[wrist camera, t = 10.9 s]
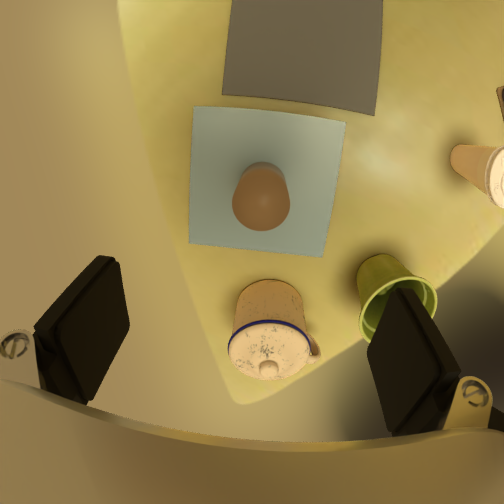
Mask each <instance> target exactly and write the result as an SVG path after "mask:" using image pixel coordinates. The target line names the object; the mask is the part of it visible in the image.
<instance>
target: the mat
mask: <svg viewBox="0 0 504 504" xmlns="http://www.w3.org/2000/svg"><path fill="white" fill-rule="evenodd" d="M382 16H383V0H232V7H231V15H230V23H229V32H228V40H227V50H226V59H225V69H224V79H223V90H222V94H223V95H239V96H252V97H264V98H273V99H282V100H290V101H298V102H305V103H311V104H317V105H323V106H329V107H334V108H340V109H345V110H350V111H354V112H359V113H364V114H368V115H372V116H374V114H375V107H376V98H377V89H378V79H379V68H380V56H381V40H382Z"/></svg>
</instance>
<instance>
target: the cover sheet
mask: <svg viewBox="0 0 504 504" xmlns="http://www.w3.org/2000/svg"><path fill="white" fill-rule="evenodd" d="M345 127H346V122H343V121H337V120H332V119H326V118H320V117H314V116H308V115H301V114H293V113H286V112H277V111H268V110H258V109H246V108H232V107H211V106H194V111H193V126H192V143H191V165H190V197H189V243H190V244H199V245H209V246H218V247H228V248H237V249H247V250H256V251H266V252H275V253H285V254H294V255H303V256H313V257H323V252H324V247H325V243H326V238H327V233H328V228H329V223H330V218H331V213H332V207H333V202H334V196H335V191H336V185H337V179H338V173H339V167H340V161H341V155H342V148H343V141H344V134H345Z"/></svg>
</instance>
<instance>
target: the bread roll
mask: <svg viewBox="0 0 504 504" xmlns="http://www.w3.org/2000/svg"><path fill="white" fill-rule="evenodd" d="M496 92H497V96H498V99H499V103H500V107H501V112H502V116H503V121H504V86H503V87H498V88H497V90H496Z"/></svg>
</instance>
